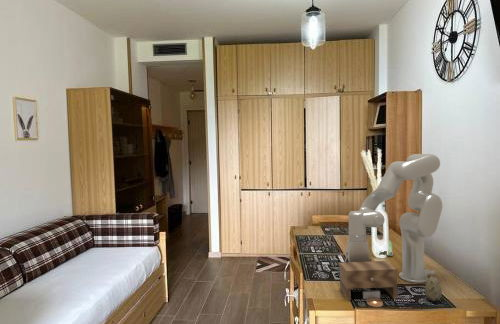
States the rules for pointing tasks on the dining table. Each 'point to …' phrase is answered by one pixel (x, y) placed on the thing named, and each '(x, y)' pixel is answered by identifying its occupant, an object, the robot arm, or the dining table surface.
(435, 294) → the decorative egg
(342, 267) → the wooden bridge block
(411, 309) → the dining table surface
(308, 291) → the dining table surface
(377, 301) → the copper token
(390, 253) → the frog
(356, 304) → the dining table surface
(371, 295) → the grey parking meter
